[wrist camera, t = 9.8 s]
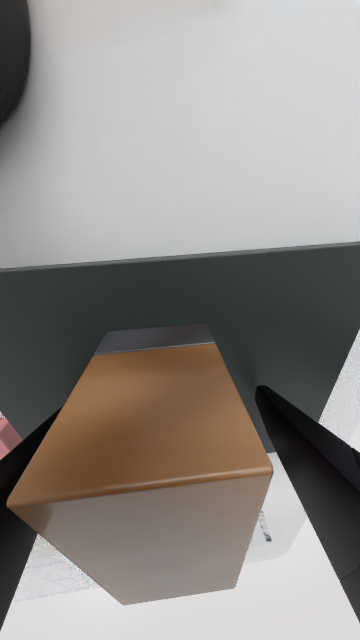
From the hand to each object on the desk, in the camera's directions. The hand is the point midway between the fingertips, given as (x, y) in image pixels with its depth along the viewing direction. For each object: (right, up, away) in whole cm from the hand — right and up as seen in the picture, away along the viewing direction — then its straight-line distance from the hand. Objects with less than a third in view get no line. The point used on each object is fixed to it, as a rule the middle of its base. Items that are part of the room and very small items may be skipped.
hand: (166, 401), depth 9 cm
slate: (0, +1, +1) cm, 1 cm away
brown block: (0, 0, 0) cm, 0 cm away
